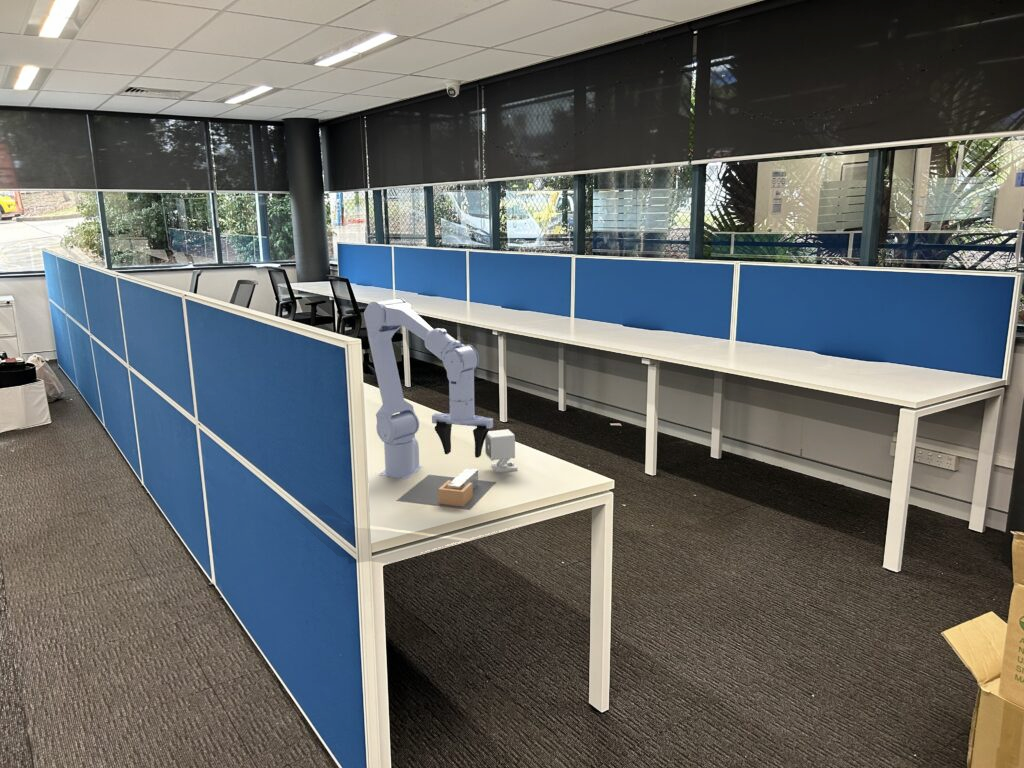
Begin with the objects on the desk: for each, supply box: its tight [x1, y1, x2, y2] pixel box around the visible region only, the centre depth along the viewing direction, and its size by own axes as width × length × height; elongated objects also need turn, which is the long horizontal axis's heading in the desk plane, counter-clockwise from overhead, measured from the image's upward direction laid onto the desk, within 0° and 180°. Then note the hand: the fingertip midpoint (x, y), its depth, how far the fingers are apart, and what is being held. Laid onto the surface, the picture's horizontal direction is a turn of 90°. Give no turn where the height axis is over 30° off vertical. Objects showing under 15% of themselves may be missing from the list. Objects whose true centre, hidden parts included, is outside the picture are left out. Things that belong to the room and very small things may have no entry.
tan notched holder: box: [438, 480, 473, 507], centre depth 169 cm, size 6×6×4 cm
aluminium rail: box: [447, 467, 479, 490], centre depth 173 cm, size 12×3×4 cm, turn 162°
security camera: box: [484, 428, 518, 473], centre depth 189 cm, size 6×7×10 cm
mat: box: [396, 474, 497, 511], centre depth 175 cm, size 18×18×1 cm
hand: (462, 454), depth 173 cm, fingers open, 7 cm apart
